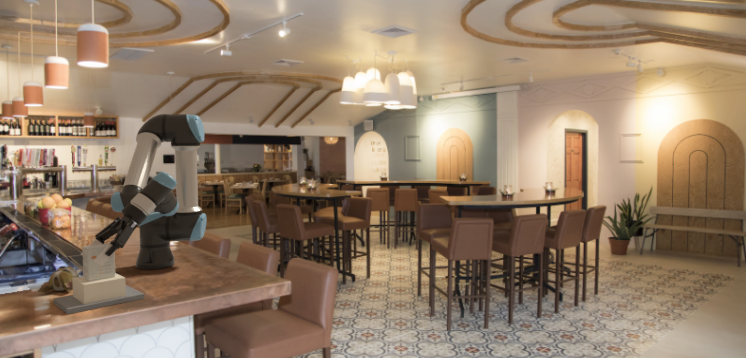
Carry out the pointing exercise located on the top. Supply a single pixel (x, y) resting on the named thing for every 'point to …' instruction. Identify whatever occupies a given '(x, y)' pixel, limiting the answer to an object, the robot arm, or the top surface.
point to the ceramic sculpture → (60, 280)
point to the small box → (94, 269)
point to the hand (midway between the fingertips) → (90, 260)
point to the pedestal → (97, 294)
